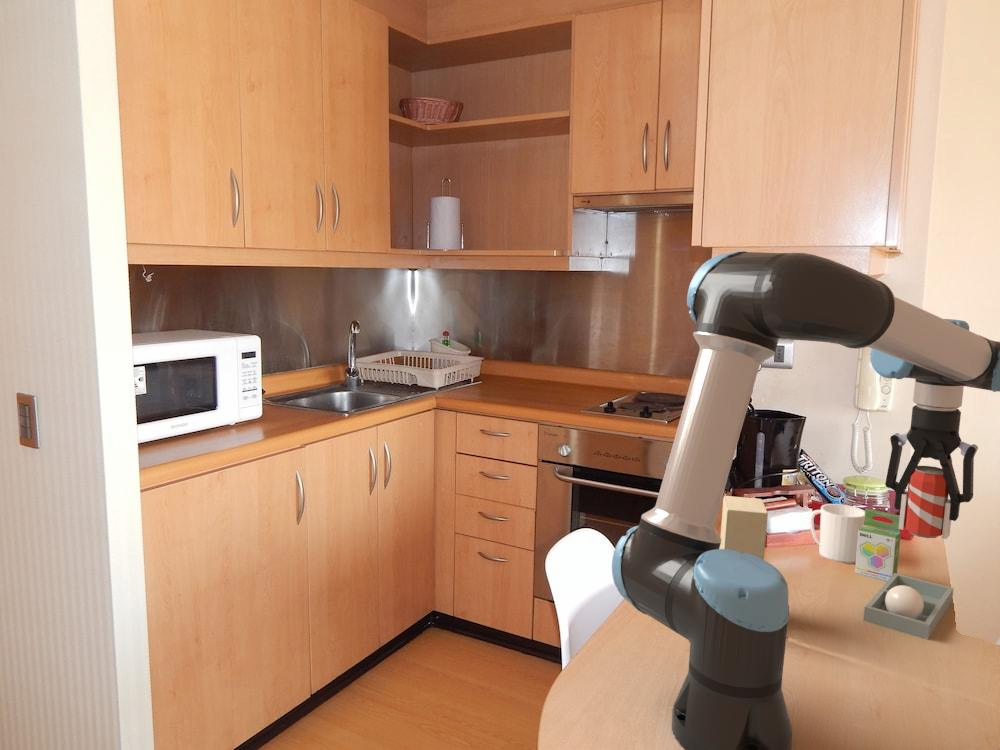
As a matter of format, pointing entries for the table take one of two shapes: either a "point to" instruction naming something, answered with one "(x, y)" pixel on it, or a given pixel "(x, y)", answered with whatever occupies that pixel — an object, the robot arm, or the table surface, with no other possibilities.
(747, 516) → the beige tall block
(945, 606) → the tray
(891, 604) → the egg
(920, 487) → the beverage can
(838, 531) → the mug
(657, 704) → the table surface
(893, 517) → the ink box
